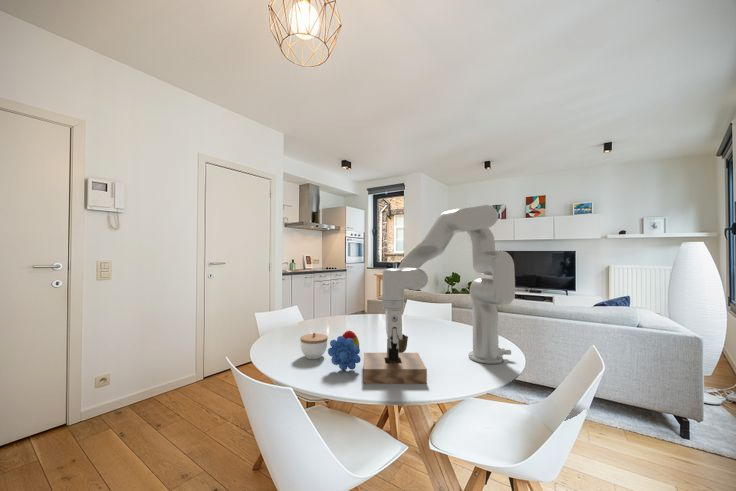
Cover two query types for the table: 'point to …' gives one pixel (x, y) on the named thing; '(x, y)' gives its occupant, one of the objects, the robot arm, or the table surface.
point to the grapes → (344, 353)
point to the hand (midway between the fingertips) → (392, 357)
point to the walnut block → (394, 369)
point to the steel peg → (388, 351)
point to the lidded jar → (313, 345)
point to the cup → (403, 343)
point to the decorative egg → (351, 337)
